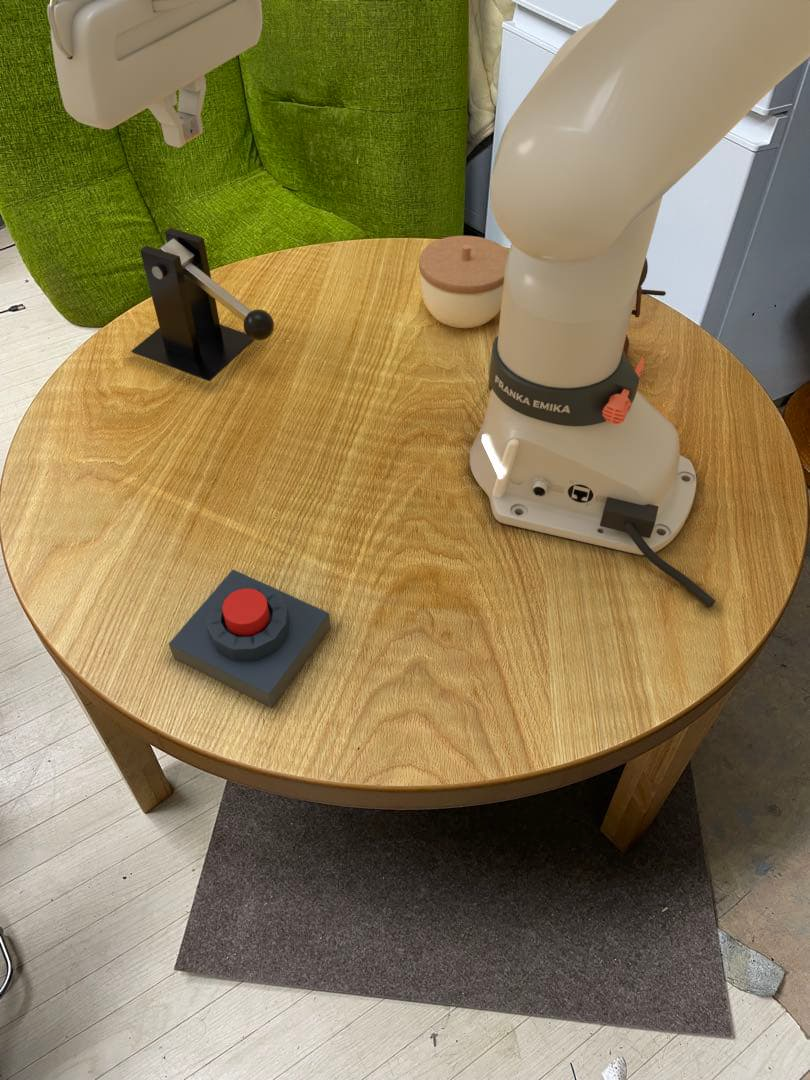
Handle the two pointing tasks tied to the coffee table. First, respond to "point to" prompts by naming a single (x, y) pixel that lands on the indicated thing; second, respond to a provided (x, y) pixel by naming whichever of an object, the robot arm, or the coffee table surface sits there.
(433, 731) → the coffee table surface
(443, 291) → the trinket box
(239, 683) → the button block
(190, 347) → the bracket
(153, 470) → the coffee table surface
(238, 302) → the tap lever
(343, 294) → the coffee table surface
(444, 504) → the coffee table surface
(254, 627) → the button
